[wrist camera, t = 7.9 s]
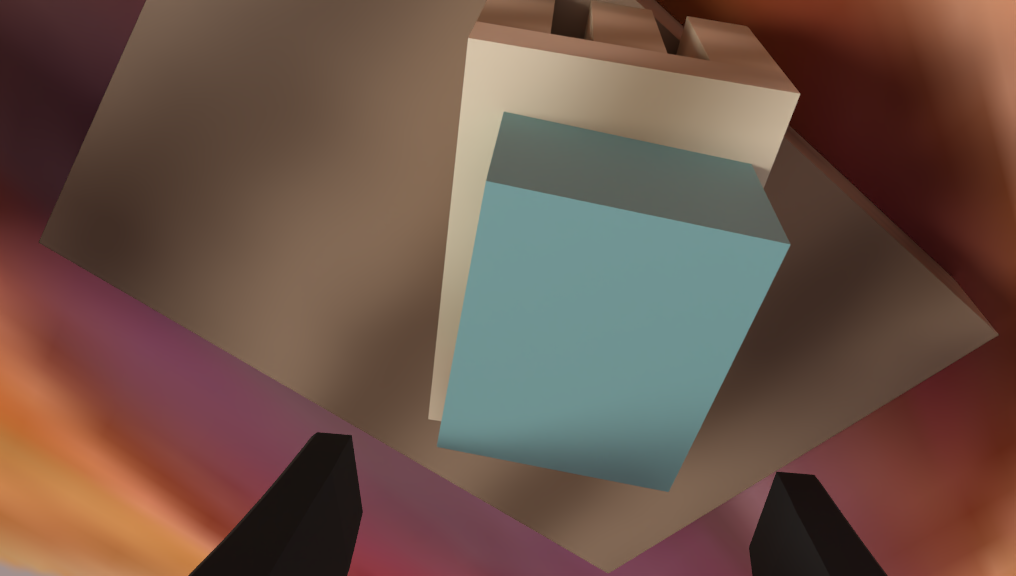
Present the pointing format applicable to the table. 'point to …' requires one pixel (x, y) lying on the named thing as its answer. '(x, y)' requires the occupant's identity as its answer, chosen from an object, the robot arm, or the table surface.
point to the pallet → (602, 107)
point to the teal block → (604, 301)
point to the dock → (422, 247)
